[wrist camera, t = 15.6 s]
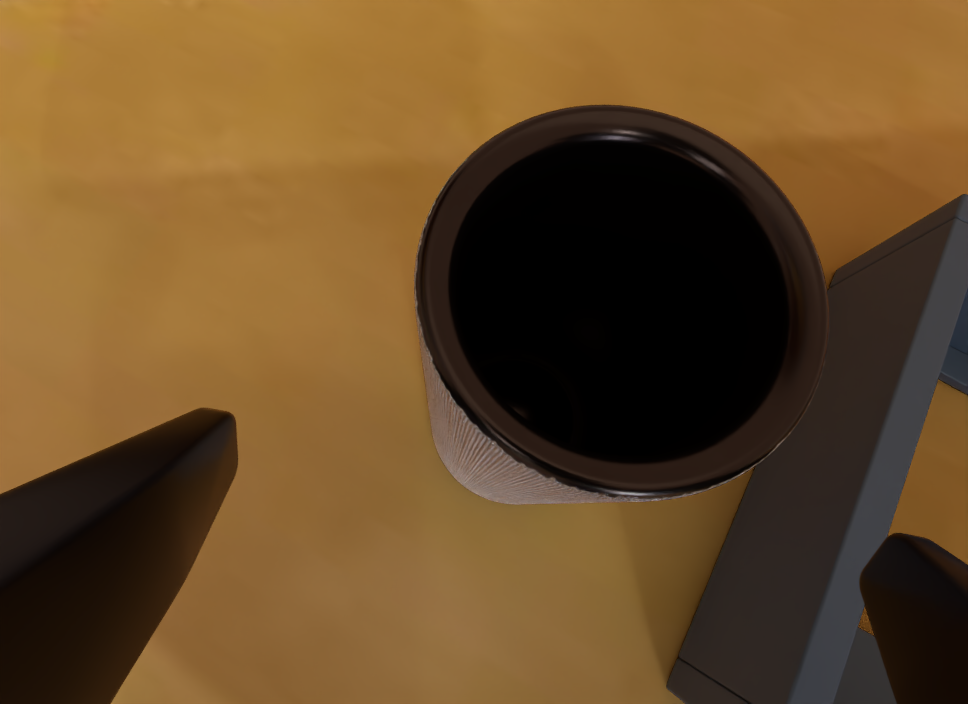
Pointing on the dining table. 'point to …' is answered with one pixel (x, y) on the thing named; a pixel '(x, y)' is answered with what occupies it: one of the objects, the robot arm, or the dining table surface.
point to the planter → (614, 311)
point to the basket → (834, 485)
